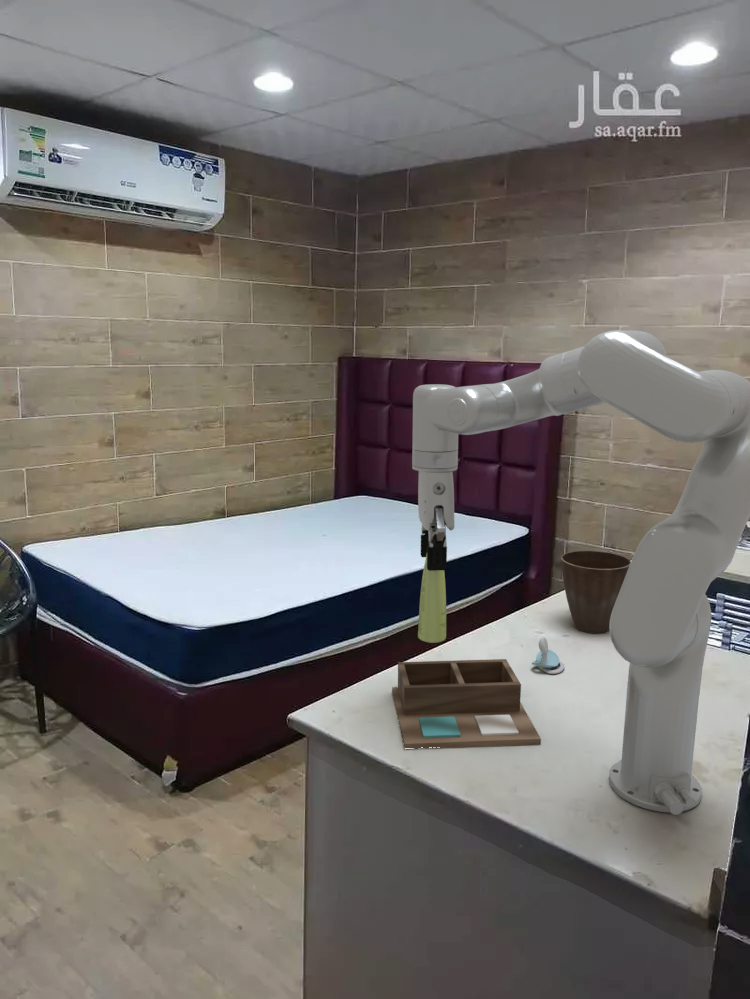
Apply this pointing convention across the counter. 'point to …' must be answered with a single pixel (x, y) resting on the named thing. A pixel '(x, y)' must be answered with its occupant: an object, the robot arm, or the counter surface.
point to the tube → (432, 606)
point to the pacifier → (547, 659)
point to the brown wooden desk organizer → (461, 705)
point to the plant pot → (593, 587)
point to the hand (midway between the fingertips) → (433, 562)
